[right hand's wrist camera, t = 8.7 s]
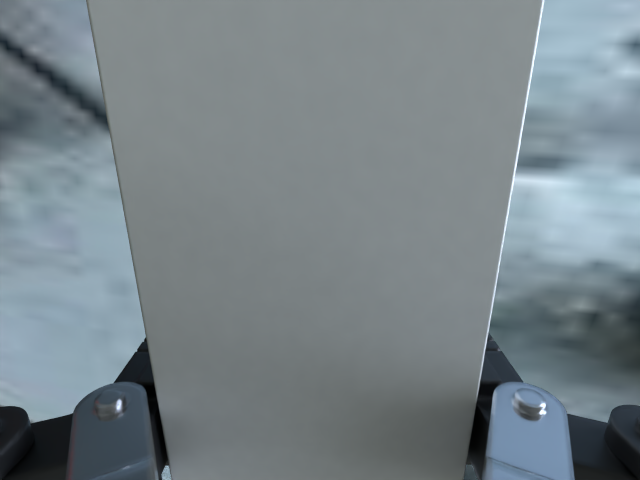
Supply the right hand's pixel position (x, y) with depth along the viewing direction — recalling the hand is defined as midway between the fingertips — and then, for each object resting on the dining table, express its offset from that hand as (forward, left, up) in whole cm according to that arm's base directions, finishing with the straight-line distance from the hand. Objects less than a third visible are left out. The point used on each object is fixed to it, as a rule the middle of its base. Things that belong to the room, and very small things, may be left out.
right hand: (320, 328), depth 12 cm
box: (+9, 0, -9) cm, 12 cm away
